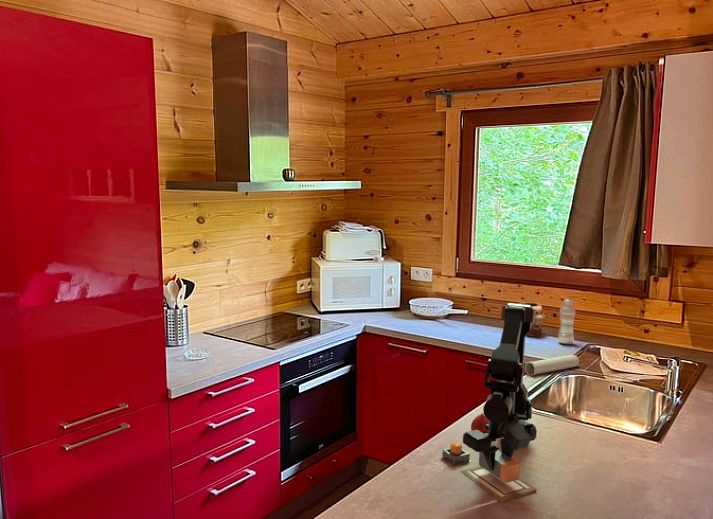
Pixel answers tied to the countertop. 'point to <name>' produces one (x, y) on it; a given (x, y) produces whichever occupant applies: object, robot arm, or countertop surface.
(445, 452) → the button collar
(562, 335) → the plastic bottle
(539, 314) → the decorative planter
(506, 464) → the grey orange block
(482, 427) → the onion
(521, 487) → the picture frame
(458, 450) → the button
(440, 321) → the countertop surface
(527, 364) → the tube
